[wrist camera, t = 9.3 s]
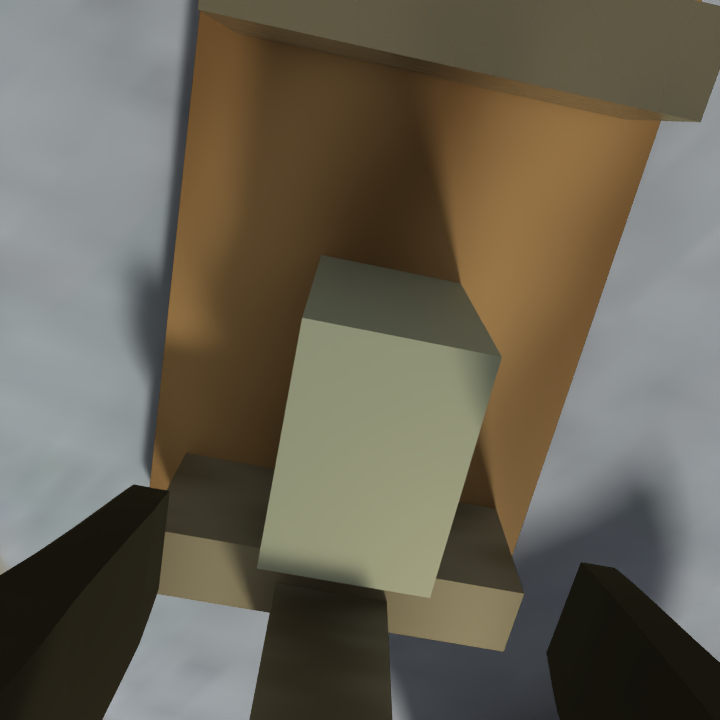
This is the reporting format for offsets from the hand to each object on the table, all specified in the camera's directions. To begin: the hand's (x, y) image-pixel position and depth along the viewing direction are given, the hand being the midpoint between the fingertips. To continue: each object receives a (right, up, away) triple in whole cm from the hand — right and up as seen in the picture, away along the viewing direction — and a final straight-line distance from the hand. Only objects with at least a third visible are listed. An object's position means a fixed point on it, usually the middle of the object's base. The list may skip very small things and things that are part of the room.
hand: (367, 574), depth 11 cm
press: (+1, +6, +9) cm, 11 cm away
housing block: (0, +4, +8) cm, 9 cm away
